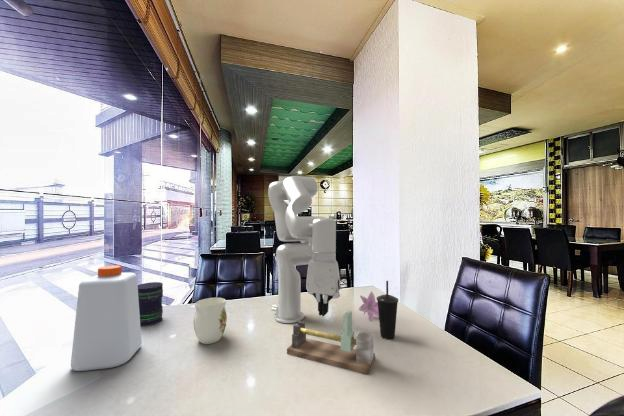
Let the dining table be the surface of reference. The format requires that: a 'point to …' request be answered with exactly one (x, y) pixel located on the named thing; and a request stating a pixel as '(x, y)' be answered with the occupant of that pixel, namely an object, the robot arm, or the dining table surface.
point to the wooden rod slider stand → (333, 349)
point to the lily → (370, 306)
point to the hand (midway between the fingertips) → (323, 314)
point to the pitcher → (210, 319)
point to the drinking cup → (387, 314)
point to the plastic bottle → (106, 320)
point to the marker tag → (347, 332)
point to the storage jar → (150, 303)
